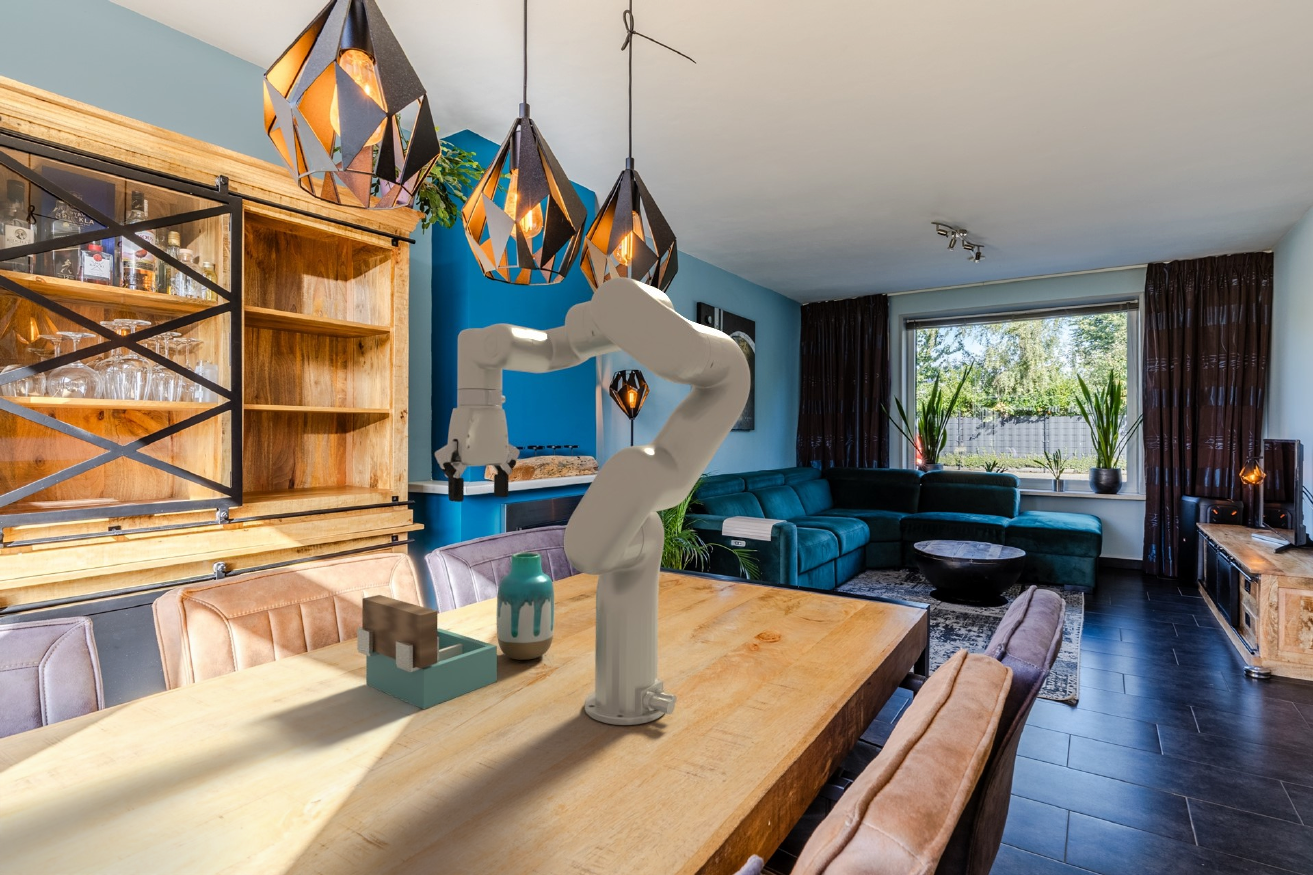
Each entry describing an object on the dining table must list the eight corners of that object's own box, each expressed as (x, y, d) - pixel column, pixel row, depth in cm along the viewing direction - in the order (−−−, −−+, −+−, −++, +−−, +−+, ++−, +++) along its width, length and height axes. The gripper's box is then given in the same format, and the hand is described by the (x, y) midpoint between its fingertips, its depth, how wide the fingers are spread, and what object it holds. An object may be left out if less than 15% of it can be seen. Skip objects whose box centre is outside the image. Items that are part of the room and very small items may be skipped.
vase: (483, 661, 121) (484, 556, 120) (521, 644, 130) (522, 547, 130) (530, 671, 116) (530, 562, 115) (565, 653, 125) (566, 552, 125)
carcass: (496, 681, 111) (496, 645, 111) (423, 709, 100) (423, 669, 100) (438, 660, 120) (439, 628, 120) (366, 684, 109) (366, 648, 109)
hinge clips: (439, 662, 103) (439, 637, 103) (409, 672, 98) (409, 646, 98) (386, 644, 111) (386, 620, 111) (357, 652, 107) (357, 627, 107)
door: (362, 646, 108) (362, 598, 108) (379, 642, 111) (379, 594, 111) (420, 668, 99) (420, 615, 99) (437, 662, 101) (437, 610, 101)
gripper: (504, 403, 124) (503, 493, 124) (423, 399, 110) (423, 501, 110) (531, 402, 119) (531, 496, 120) (451, 398, 106) (450, 504, 106)
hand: (479, 498), depth 115 cm, fingers open, 9 cm apart
